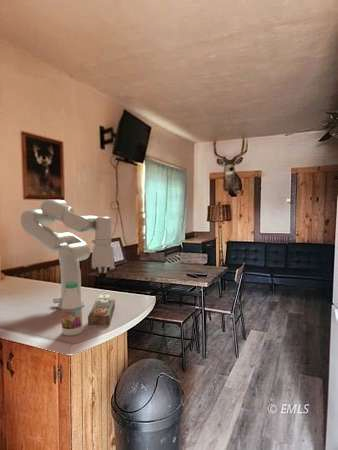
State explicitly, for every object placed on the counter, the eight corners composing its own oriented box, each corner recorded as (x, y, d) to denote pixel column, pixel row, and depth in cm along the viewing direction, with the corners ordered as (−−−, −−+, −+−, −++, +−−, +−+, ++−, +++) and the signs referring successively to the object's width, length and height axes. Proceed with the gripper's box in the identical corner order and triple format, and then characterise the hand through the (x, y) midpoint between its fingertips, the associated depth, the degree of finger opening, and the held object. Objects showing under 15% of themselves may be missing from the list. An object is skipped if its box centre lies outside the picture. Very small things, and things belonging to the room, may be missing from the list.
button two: (96, 313, 142) (95, 302, 141) (97, 309, 146) (97, 298, 146) (107, 313, 142) (107, 301, 142) (108, 309, 147) (108, 298, 147)
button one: (98, 308, 149) (98, 297, 149) (100, 304, 154) (99, 294, 154) (109, 307, 149) (109, 297, 149) (110, 304, 154) (110, 294, 154)
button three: (93, 323, 134) (93, 312, 134) (95, 319, 139) (95, 308, 139) (105, 323, 135) (105, 311, 134) (106, 319, 140) (106, 308, 139)
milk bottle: (64, 329, 129) (63, 280, 128) (84, 328, 129) (83, 280, 128) (60, 336, 121) (58, 285, 120) (80, 336, 122) (79, 285, 121)
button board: (88, 325, 132) (87, 316, 132) (96, 307, 156) (96, 299, 155) (109, 325, 133) (109, 315, 133) (114, 307, 156) (114, 299, 156)
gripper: (85, 243, 145) (85, 282, 146) (118, 243, 146) (117, 282, 147) (89, 241, 152) (88, 278, 153) (119, 241, 153) (119, 279, 154)
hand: (103, 280), depth 150 cm, fingers closed
